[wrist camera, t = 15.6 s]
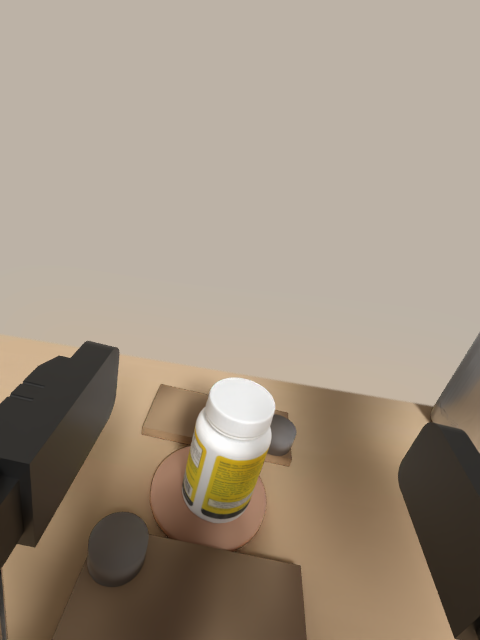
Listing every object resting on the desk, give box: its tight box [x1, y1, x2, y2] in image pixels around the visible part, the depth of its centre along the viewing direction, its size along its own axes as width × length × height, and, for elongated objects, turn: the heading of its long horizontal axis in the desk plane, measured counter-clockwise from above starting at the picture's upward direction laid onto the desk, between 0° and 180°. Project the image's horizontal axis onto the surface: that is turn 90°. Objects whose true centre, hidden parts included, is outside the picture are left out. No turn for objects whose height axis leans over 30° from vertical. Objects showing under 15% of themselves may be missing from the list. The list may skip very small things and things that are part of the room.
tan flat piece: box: [52, 384, 307, 640], centre depth 25 cm, size 12×19×2 cm, turn 176°
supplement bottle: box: [182, 378, 275, 523], centre depth 23 cm, size 5×5×8 cm
